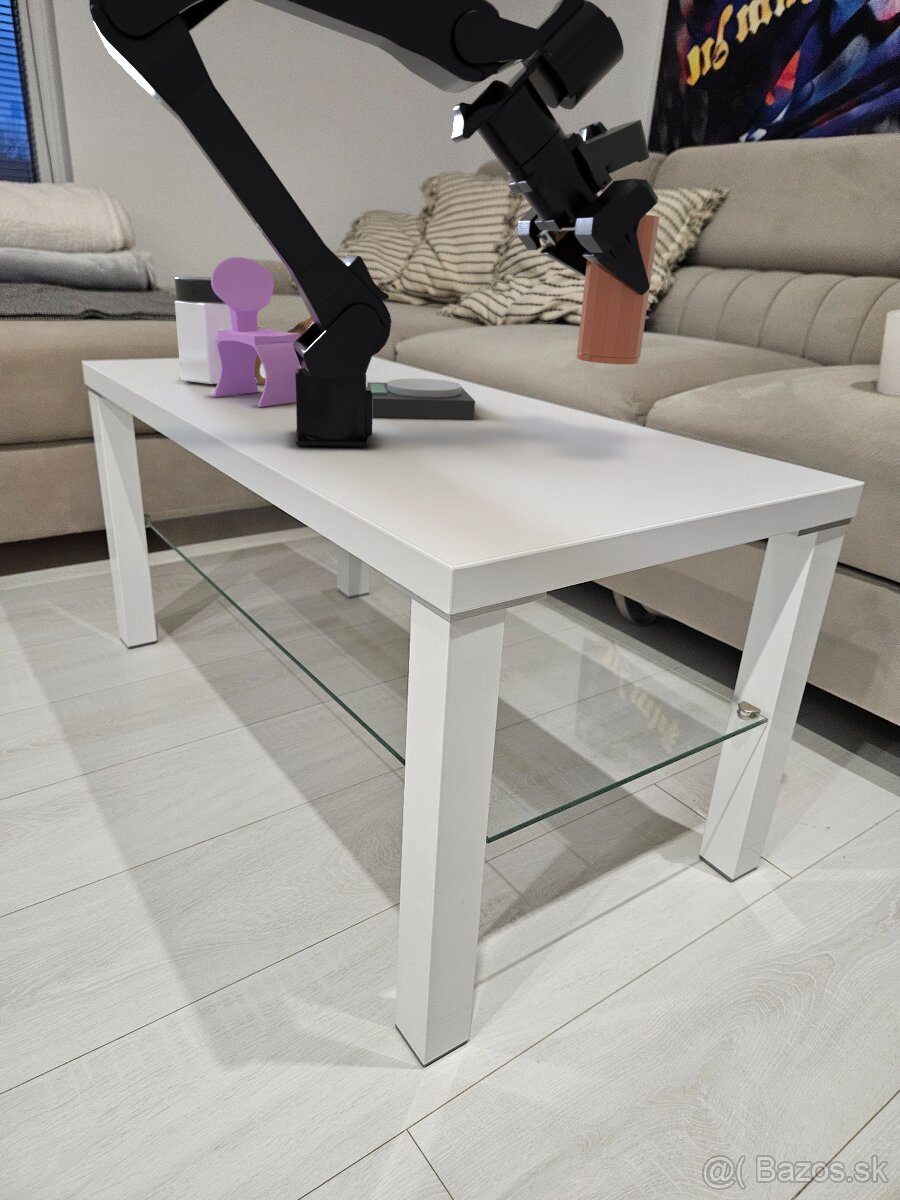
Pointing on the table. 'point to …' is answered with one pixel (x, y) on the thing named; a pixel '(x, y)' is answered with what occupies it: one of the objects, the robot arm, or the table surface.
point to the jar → (199, 328)
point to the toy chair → (252, 335)
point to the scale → (421, 399)
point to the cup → (615, 308)
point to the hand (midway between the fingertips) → (629, 289)
